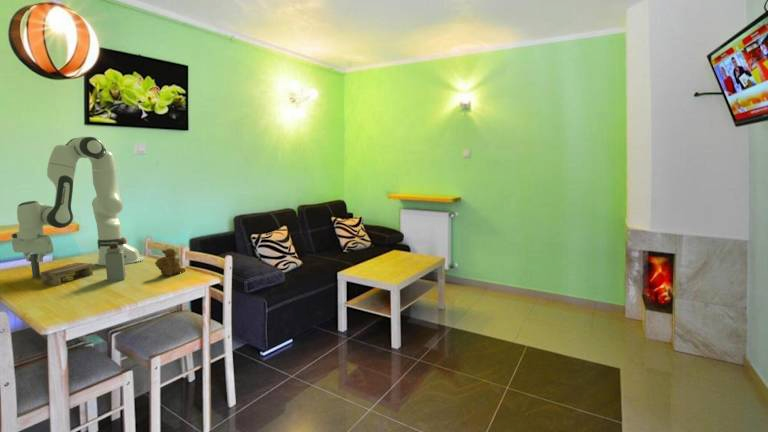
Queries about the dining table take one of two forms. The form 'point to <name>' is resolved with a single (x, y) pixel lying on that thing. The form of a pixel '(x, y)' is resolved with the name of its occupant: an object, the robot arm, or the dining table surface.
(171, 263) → the stuffed squirrel
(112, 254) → the perfume bottle
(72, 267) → the bench
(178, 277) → the dining table surface
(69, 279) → the token
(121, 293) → the dining table surface
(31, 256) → the slab with upright peg
